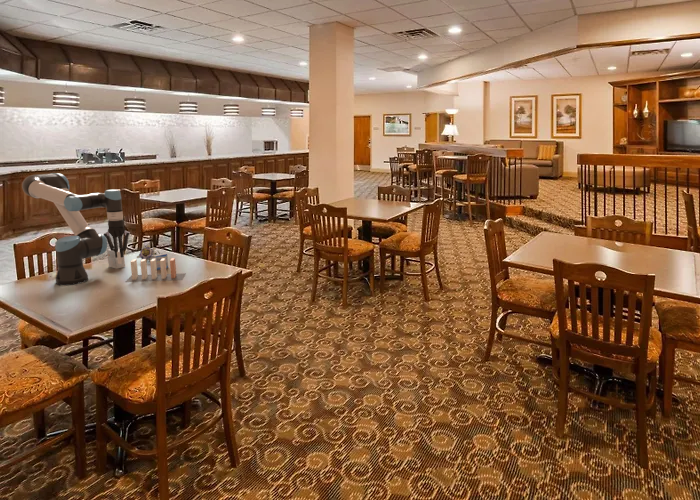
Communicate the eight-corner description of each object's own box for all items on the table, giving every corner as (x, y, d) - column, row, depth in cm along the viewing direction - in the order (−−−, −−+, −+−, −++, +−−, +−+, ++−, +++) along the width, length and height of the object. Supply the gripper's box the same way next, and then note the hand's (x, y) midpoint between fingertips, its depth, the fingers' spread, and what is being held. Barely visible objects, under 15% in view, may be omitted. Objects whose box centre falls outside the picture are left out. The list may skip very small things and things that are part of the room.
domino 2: (142, 279, 271) (140, 261, 268) (144, 276, 276) (142, 259, 273) (145, 279, 271) (143, 261, 269) (147, 276, 276) (146, 258, 274)
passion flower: (147, 271, 307) (133, 257, 303) (151, 263, 317) (137, 249, 312) (161, 261, 306) (147, 247, 301) (165, 254, 316) (151, 239, 311)
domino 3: (151, 279, 271) (150, 261, 269) (153, 276, 276) (152, 258, 274) (155, 278, 272) (153, 260, 269) (157, 276, 277) (155, 258, 274)
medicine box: (156, 271, 289) (155, 256, 287) (152, 269, 291) (150, 255, 289) (168, 268, 295) (167, 253, 293) (164, 267, 298) (163, 252, 296)
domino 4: (161, 278, 272) (160, 260, 270) (163, 276, 277) (161, 258, 275) (165, 278, 272) (163, 260, 270) (166, 276, 277) (165, 258, 275)
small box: (125, 266, 297) (123, 249, 295) (116, 269, 293) (114, 251, 290) (117, 264, 301) (115, 247, 299) (108, 267, 297) (106, 249, 294)
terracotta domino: (171, 278, 273) (169, 260, 271) (172, 275, 278) (171, 258, 276) (174, 278, 273) (173, 260, 271) (176, 275, 278) (175, 258, 276)
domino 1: (132, 279, 270) (130, 261, 268) (134, 277, 275) (132, 259, 272) (135, 279, 270) (134, 261, 268) (138, 277, 275) (136, 259, 273)
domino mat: (125, 282, 266) (125, 282, 266) (131, 276, 278) (131, 275, 278) (182, 280, 270) (182, 280, 270) (186, 274, 283) (186, 273, 283)
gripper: (100, 221, 259) (105, 265, 265) (126, 220, 261) (131, 264, 267) (104, 218, 267) (109, 262, 272) (130, 218, 269) (134, 261, 274)
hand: (120, 263), depth 269 cm, fingers closed
